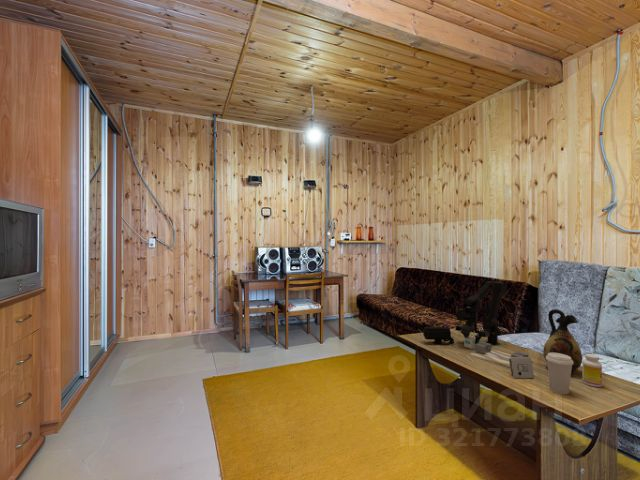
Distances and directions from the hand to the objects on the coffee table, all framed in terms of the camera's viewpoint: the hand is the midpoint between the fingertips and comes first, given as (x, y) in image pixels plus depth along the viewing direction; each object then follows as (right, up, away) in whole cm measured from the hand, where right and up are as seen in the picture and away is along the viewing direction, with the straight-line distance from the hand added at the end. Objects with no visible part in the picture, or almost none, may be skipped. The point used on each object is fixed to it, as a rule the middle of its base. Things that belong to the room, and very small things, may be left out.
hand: (471, 344), depth 190 cm
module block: (0, -1, 0) cm, 1 cm away
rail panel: (+6, -1, -20) cm, 21 cm away
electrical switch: (+2, -1, -42) cm, 42 cm away
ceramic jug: (+28, -1, -34) cm, 44 cm away
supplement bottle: (+30, -1, -50) cm, 58 cm away
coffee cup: (+10, -1, -56) cm, 57 cm away
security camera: (-18, -1, +5) cm, 19 cm away
